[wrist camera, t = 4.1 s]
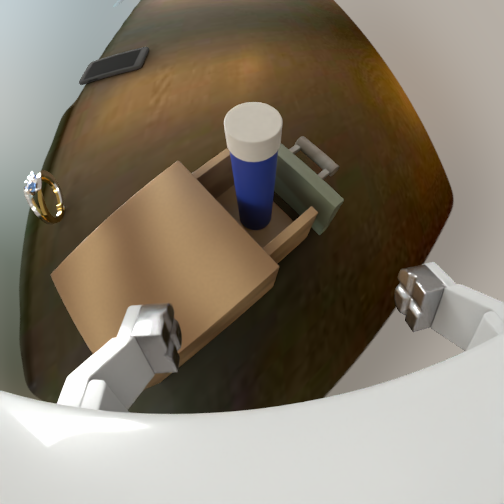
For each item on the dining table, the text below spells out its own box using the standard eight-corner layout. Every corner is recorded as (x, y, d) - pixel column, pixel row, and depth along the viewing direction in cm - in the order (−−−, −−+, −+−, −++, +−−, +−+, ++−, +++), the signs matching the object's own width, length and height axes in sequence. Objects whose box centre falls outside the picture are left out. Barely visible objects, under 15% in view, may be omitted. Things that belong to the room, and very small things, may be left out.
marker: (279, 216, 29) (294, 122, 15) (254, 238, 28) (250, 152, 15) (256, 194, 29) (255, 94, 16) (231, 214, 29) (212, 120, 15)
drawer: (280, 142, 33) (284, 102, 26) (351, 205, 30) (372, 173, 23) (154, 239, 29) (128, 214, 23) (221, 322, 27) (209, 319, 20)
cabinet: (196, 202, 31) (178, 159, 23) (273, 286, 29) (280, 266, 20) (95, 291, 29) (50, 274, 20) (159, 382, 26) (123, 398, 18)
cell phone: (141, 68, 39) (140, 65, 39) (78, 86, 40) (77, 83, 39) (150, 48, 42) (149, 45, 41) (90, 64, 42) (89, 62, 41)
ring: (56, 192, 33) (24, 164, 25) (73, 184, 33) (42, 154, 25) (54, 235, 31) (16, 212, 23) (71, 228, 31) (34, 203, 23)
